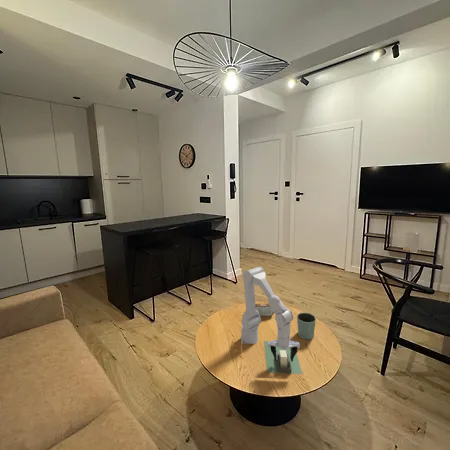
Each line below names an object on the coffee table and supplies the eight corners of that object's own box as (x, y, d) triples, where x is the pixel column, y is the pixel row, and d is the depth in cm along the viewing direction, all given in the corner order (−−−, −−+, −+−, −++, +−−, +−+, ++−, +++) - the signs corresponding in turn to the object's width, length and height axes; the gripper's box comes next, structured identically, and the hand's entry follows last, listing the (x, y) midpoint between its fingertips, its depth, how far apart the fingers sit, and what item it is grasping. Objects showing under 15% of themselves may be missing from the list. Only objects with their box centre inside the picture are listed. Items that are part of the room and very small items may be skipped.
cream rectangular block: (280, 367, 117) (280, 356, 116) (279, 359, 122) (279, 349, 121) (287, 368, 117) (287, 357, 116) (285, 359, 122) (285, 349, 121)
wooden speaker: (274, 314, 164) (274, 302, 162) (274, 317, 161) (274, 305, 159) (251, 314, 164) (251, 303, 163) (251, 317, 161) (251, 305, 160)
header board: (267, 374, 115) (267, 368, 114) (264, 342, 136) (264, 338, 136) (302, 375, 113) (302, 370, 113) (293, 343, 135) (293, 338, 134)
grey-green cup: (318, 335, 141) (319, 316, 138) (309, 344, 134) (310, 324, 131) (301, 328, 148) (302, 310, 145) (293, 336, 141) (293, 317, 139)
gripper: (268, 339, 112) (268, 365, 115) (301, 340, 111) (300, 366, 114) (267, 330, 119) (267, 354, 122) (298, 331, 118) (297, 355, 120)
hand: (283, 359), depth 118 cm, fingers open, 7 cm apart
